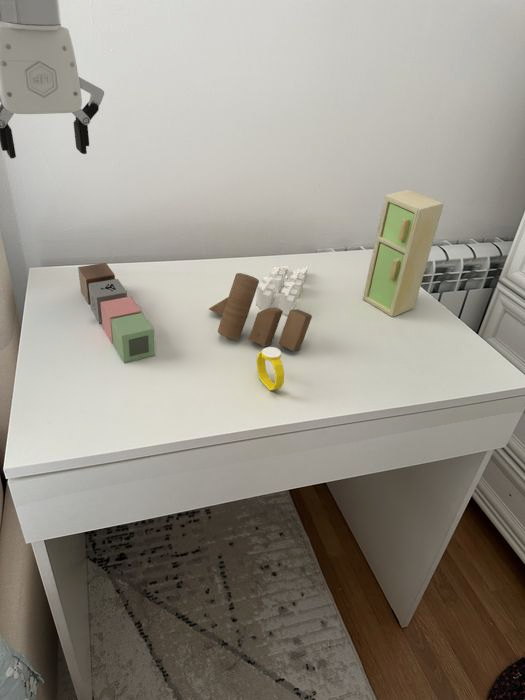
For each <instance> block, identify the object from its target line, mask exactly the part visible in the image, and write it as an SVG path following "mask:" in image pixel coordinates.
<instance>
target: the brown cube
mask: <svg viewBox="0 0 525 700" xmlns="http://www.w3.org/2000/svg"><path fill="white" fill-rule="evenodd" d="M77 269H78V279H79V287H80V292H81V294H82V296H83V297H84V300H86V302H87V304H88V305H90V306H91V302H90V293H89V283H95V282H101V281H107V280H114V279H116V274H115V273H114V271H113V270H112V269H111V268H110V267H109V265H108V263H107V262H102V263H101V262H100V263H95V264H90V265H89V264H88V265H83V266H78V267H77Z"/></svg>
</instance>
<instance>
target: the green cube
mask: <svg viewBox="0 0 525 700" xmlns="http://www.w3.org/2000/svg"><path fill="white" fill-rule="evenodd" d="M111 323H112V334H113V344H112V346H113V348H114V349H115V350H116V352H117V354H118V356H119V357H120V359H121V360H122V363H124V364H125V363H130V362H134V361H138V360H141V359H145V358H149V357H153V356H155V355H156V351H155V350H156V349H155V348H156V346H155V328H154V326H152V325H153V324H151V323H150V321H149V320H148V319H147V317H146V316H145V314H144V313H143V312H141V313H139V314H134V315H129V316H124V317H120V318H115V319H111Z"/></svg>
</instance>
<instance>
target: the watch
mask: <svg viewBox="0 0 525 700" xmlns="http://www.w3.org/2000/svg"><path fill="white" fill-rule="evenodd" d="M281 357H282V351H281V350H280V349H279V348H278V347H274V346H267V347H264V348H263V349H262V350H260V351H259V353H258V354H257V356H256V371H257V375H258V377H259V380H260V381H261V382H262V383H263V385H264V386H265V387H266V388H267V389H268V391H270V392H271V391H275V390H278V389H281V388H282V387H283V386H284V382H285V371H284V365H283V362H282V360H281ZM266 361H268V362H270V363H271V365H272V366H273V372H274V377H275V378H274V381H272V379H271V378H270V377H269V374H268V371H267V367H266Z"/></svg>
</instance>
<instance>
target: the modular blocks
mask: <svg viewBox="0 0 525 700" xmlns="http://www.w3.org/2000/svg"><path fill="white" fill-rule="evenodd" d="M288 269H289V266H288V265H282V267H281V266H273V268H272V269H271V270H270V272H269V275H268V276H266V275H265V276H264V277H263V279H262V281H261V282H259V283H258V286H257V289H256V300H255V306H257V307H258V309H259V310H262V311H263V310H265V309H267V308H271V305H273V302H274V300H275V294H278V295H279V297H277V298H276V299H279V306H278V309H280V310H282V311H283V312H282V315H285V316H288V315H289V312H290V310H293V309H295V307H296V304H297V299H300V296H301V292H302V290H303V288H304V283H305V282H304V281H305V280H306V277H307V275H308V270H309V267H308V266H304V265H303V266H301V268H299V267H296V270H292V272H291V275H290V276H289V275H286V273H287V272H288ZM288 276H289V281H288ZM283 286H284V287H283ZM279 292H280V294H279Z"/></svg>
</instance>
